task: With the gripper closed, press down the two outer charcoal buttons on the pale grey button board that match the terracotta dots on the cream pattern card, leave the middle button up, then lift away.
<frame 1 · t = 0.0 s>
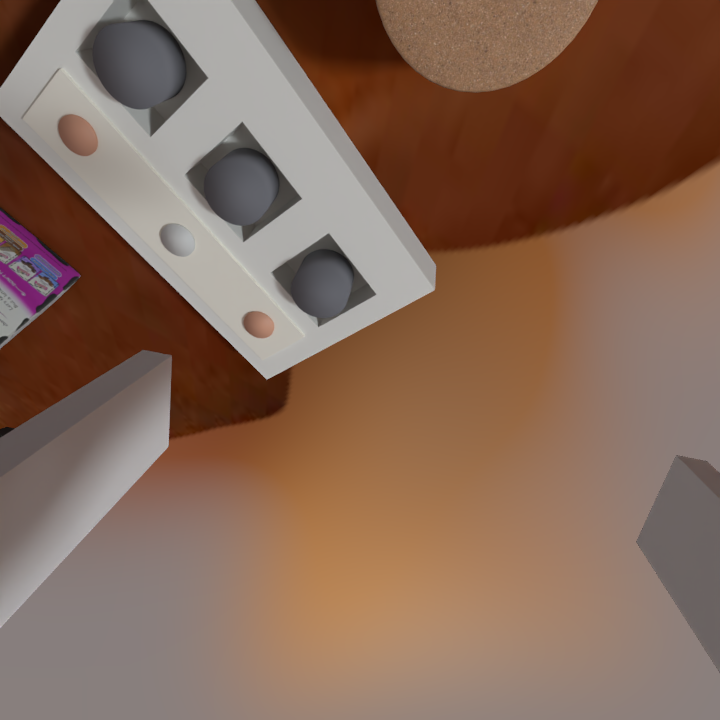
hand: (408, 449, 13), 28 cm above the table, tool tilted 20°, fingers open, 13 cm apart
button c: (323, 283, 38), point 4 cm above the table, slide at 0.0 cm
candy bar box: (20, 244, 45), on the table
button board: (242, 183, 38), on the table
button b: (242, 186, 34), point 4 cm above the table, slide at 0.0 cm
button a: (141, 64, 30), point 4 cm above the table, slide at 0.0 cm
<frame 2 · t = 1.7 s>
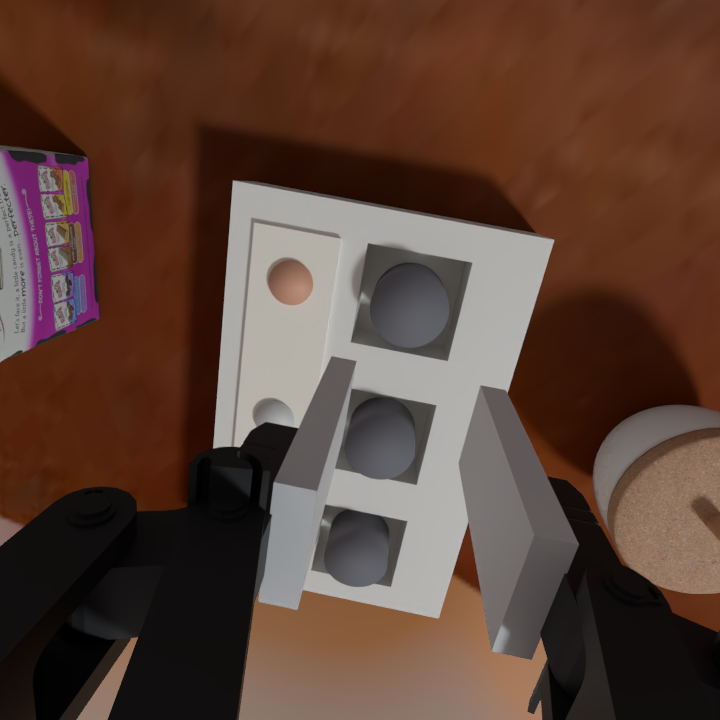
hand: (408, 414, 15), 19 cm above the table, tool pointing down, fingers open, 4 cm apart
button c: (357, 546, 35), point 4 cm above the table, slide at 0.0 cm
candy bar box: (64, 238, 33), on the table
button board: (356, 405, 35), on the table
lidded jar: (648, 448, 34), on the table
button b: (380, 437, 31), point 4 cm above the table, slide at 0.0 cm
button a: (409, 304, 28), point 4 cm above the table, slide at 0.0 cm
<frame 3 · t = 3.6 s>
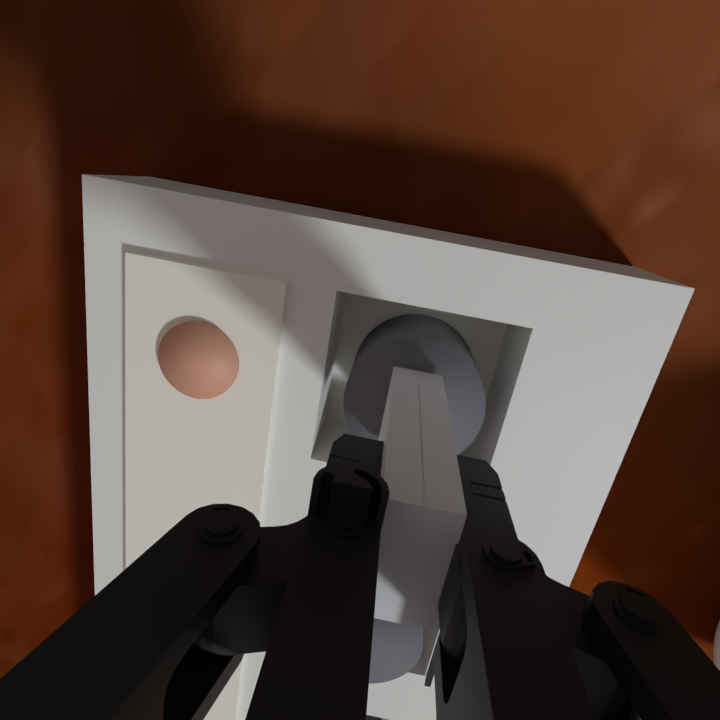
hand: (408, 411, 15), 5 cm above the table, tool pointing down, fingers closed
button board: (331, 527, 23), on the table
button b: (365, 605, 19), point 4 cm above the table, slide at 0.0 cm
button a: (413, 388, 16), point 3 cm above the table, slide at 0.9 cm, touching gripper
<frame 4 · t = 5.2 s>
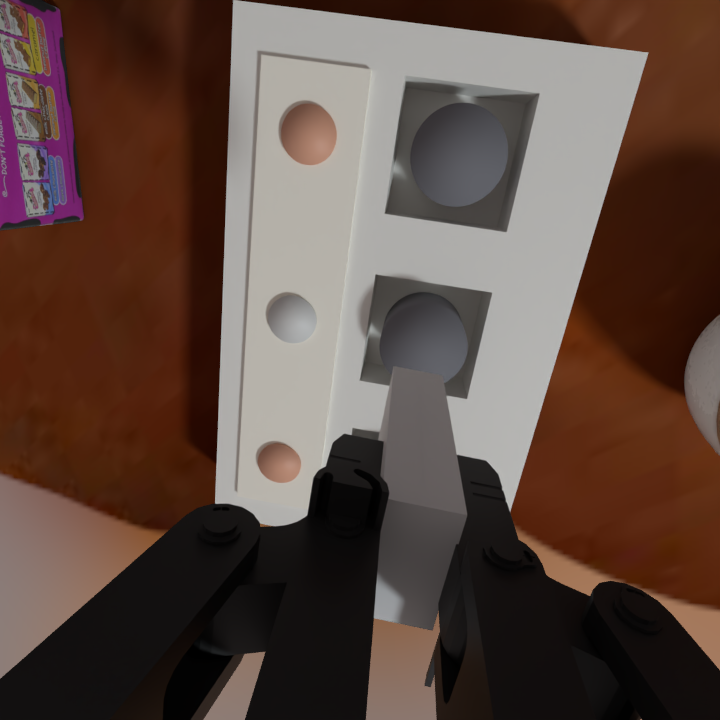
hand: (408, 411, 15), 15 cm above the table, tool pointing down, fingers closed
candy bar box: (38, 120, 28), on the table
button board: (389, 313, 30), on the table
button b: (422, 338, 26), point 4 cm above the table, slide at 0.0 cm
button a: (456, 158, 24), point 3 cm above the table, slide at 1.1 cm
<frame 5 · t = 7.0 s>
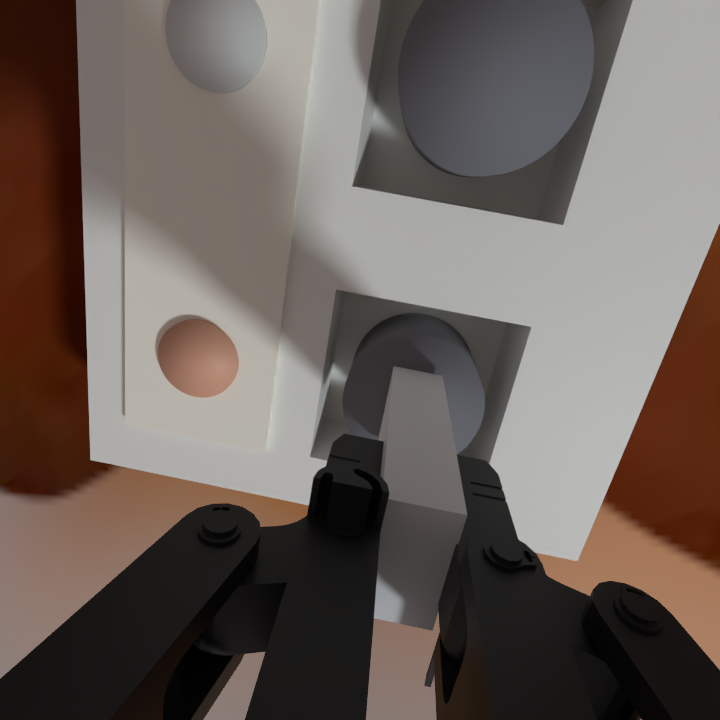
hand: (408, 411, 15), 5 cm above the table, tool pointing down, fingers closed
button c: (412, 387, 16), point 3 cm above the table, slide at 0.8 cm, touching gripper
button board: (409, 98, 16), on the table
button b: (484, 85, 13), point 4 cm above the table, slide at 0.0 cm
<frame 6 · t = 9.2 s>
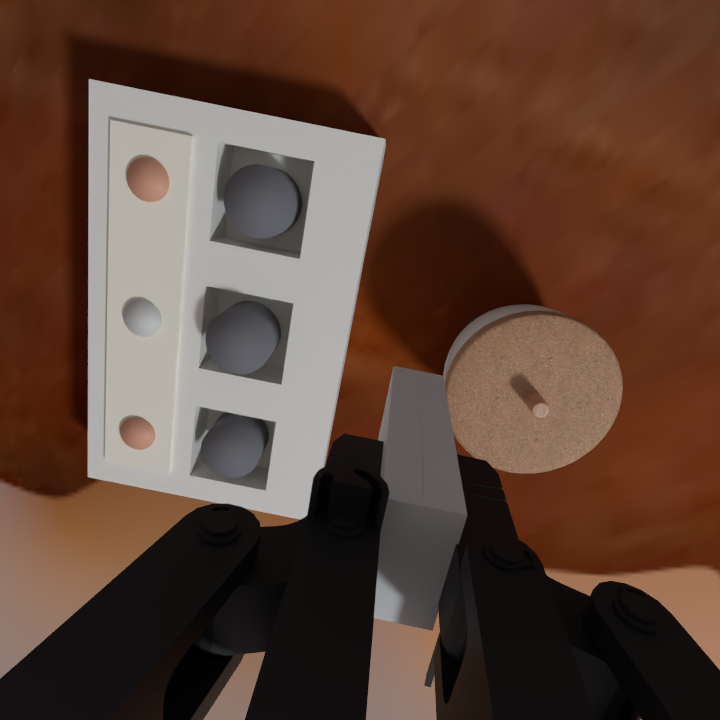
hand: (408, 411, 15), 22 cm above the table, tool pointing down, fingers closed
button c: (236, 442, 37), point 3 cm above the table, slide at 1.1 cm
button board: (234, 317, 37), on the table
lidded jar: (504, 357, 37), on the table
button b: (244, 336, 33), point 4 cm above the table, slide at 0.0 cm
button a: (264, 201, 32), point 3 cm above the table, slide at 1.1 cm
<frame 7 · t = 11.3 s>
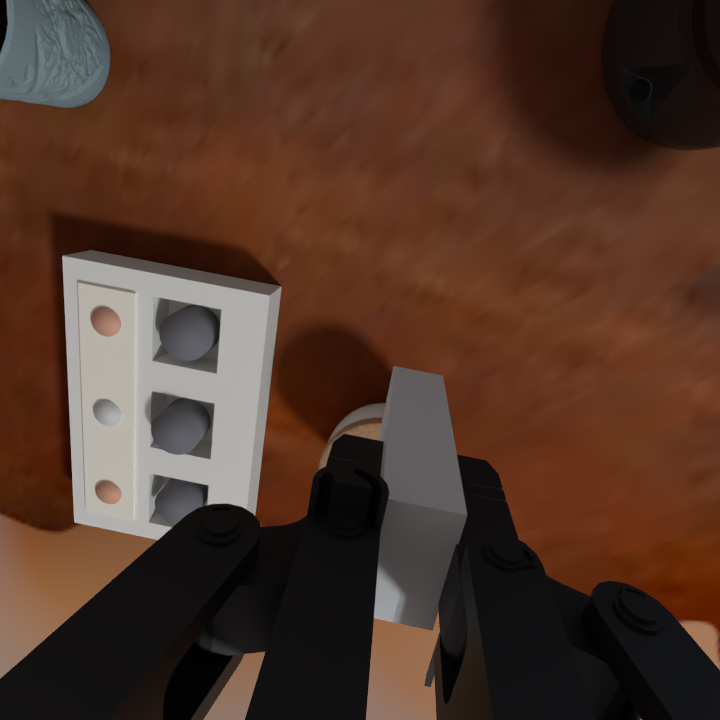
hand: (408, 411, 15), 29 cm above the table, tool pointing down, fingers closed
button c: (182, 497, 50), point 3 cm above the table, slide at 1.1 cm
button board: (179, 403, 49), on the table
grey plant pot: (64, 48, 39), on the table
lidded jar: (384, 434, 48), on the table
button b: (181, 425, 45), point 4 cm above the table, slide at 0.0 cm
button a: (191, 332, 43), point 3 cm above the table, slide at 1.1 cm
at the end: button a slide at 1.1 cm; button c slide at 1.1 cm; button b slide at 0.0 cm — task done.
